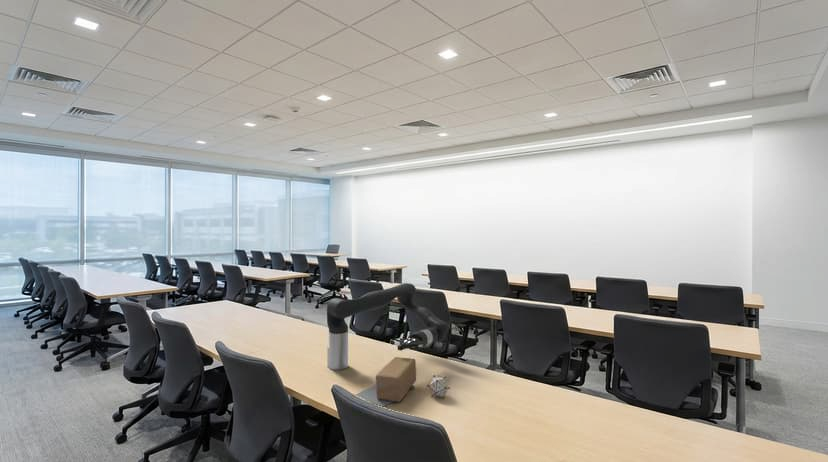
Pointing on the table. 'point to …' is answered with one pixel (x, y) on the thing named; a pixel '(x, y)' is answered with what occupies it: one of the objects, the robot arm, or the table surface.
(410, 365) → the wooden block
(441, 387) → the grey spiky star polyhedron
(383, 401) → the mat
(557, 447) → the table surface
